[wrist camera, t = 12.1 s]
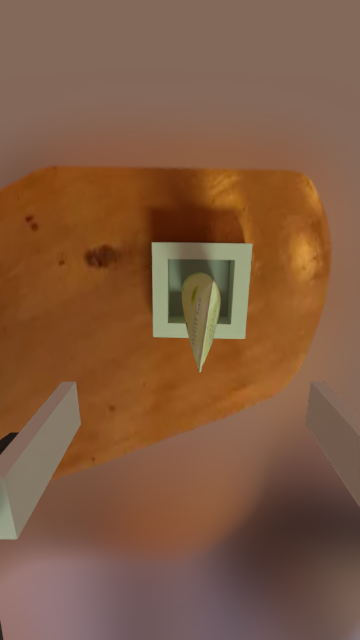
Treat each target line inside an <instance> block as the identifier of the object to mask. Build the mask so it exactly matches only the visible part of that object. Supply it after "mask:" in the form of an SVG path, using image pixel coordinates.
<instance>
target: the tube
mask: <svg viewBox="0 0 360 640" xmlns="http://www.w3.org/2000/svg"><path fill="white" fill-rule="evenodd" d="M220 303H221V297H220V291H219V288H218V286H217V284H216V283H215V281H214V280H213V279H212V278H211V277H210V276H209V275H208V274H205V273H202V272H197V273H193V274H191V275H189V276H188V277H187V278H186V279H185V280H184V282H183V285H182V306H183V312H184V318H185V323H186V328H187V332H188V336H189V340H190V344H191V348H192V351H193V355H194V358H195V360H196V363H197V366H198V369H199V372H201V367H202V365H203V363H204V361H205V359H206V357H207V354H208V352H209V349H210V346H211V343H212V340H213V337H214V333H215V330H216V325H217V321H218V317H219V311H220Z"/></svg>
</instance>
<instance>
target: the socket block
mask: <svg viewBox="0 0 360 640" xmlns="http://www.w3.org/2000/svg"><path fill="white" fill-rule="evenodd" d="M251 256H252V244H250V243H195V242H152V288H153V337H179V338H189V336H188V332H187V328H186V323H185V318H184V312H183V306H182V285H183V282H184V280H185V279H186V278H187V277H188V276H189V275H191V274H193V273H197V272H202V273H205V274H208V275H209V276H210V277H211V278H212V279H213V280H214V281H215V283H216V284H217V286H218V288H219V291H220V297H221V303H220V311H219V317H218V321H217V325H216V330H215V333H214V337H213V338H230V339H245V331H246V318H247V306H248V293H249V281H250V268H251Z"/></svg>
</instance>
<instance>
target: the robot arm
mask: <svg viewBox="0 0 360 640" xmlns="http://www.w3.org/2000/svg"><path fill="white" fill-rule="evenodd" d="M80 425H81V421H80V413H79V405H78V397H77V388H76V382H62V383H61V384H60V385H59V386H58V387H57V389H56V390H55V391H54V392H53V393H52V394H51V396H50V397H49V398H48V399H47V400H46V402H45V403H44V404H43V405H42V406H41V407H40V409H39V410H38V411H37V412H36V413H35V415H34V416H33V417H32V418H31V419H30V420H29V422H28V423H27V424H26V425H25V426H24V428H23V429H22V430H21V431H20V432H19V433H10V434H8V435H7V436H5V437H4V438H2V439H1V440H0V539H18V537H19V535H20V533H21V531H22V529H23V528H24V526H25V524H26V522H27V520H28V519H29V517H30V515H31V513H32V511H33V509H34V508H35V506H36V504H37V502H38V501H39V499H40V497H41V495H42V493H43V492H44V490H45V488H46V486H47V484H48V483H49V481H50V479H51V477H52V475H53V474H54V472H55V470H56V468H57V466H58V464H59V463H60V461H61V459H62V457H63V455H64V454H65V452H66V450H67V448H68V446H69V445H70V443H71V441H72V439H73V437H74V436H75V434H76V432H77V430H78V428H79V426H80ZM305 425H306V426H307V428H308V429H309V431H310V432H311V434H312V435H313V437H314V438H315V440H316V441H317V443H318V445H319V446H320V447H321V449H322V450H323V452H324V454H325V455H326V457H327V458H328V460H329V461H330V463H331V464H332V466H333V467H334V469H335V470H336V472H337V473H338V475H339V476H340V478H341V480H342V481H343V483H344V484H345V486H346V487H347V489H348V490H349V492H350V493H351V495H352V496H353V498H354V499H355V501H356V502H357V504H358V505H359V506H360V417H359V416H358V415H357V414H356V413H355V412H354V411H353V410H352V409H351V408H350V407H349V406H348V405H347V404H346V403H345V402H344V401H343V399H341V397H339V396H338V394H337V393H336V392H334V390H333V389H332V388H331V387H330V386H329V385H328V384H327V383H325V382H311V384H310V392H309V399H308V407H307V414H306V422H305ZM0 640H3V635H2V629H1V623H0Z"/></svg>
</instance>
